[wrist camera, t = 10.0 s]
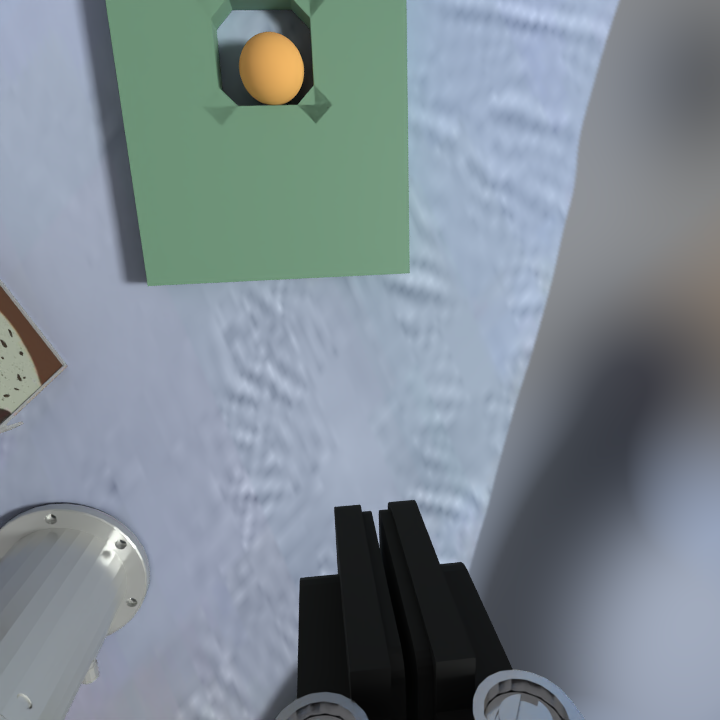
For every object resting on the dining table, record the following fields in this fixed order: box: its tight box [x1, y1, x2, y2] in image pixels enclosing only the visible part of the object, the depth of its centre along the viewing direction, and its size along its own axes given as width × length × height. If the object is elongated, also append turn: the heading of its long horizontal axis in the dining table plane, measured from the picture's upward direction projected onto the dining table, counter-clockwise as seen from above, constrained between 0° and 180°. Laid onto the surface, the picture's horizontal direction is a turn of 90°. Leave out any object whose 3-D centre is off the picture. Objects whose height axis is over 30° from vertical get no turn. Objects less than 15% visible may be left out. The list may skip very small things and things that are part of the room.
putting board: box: [105, 0, 410, 286], centre depth 34 cm, size 20×18×2 cm
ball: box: [239, 32, 304, 105], centre depth 32 cm, size 4×4×4 cm
